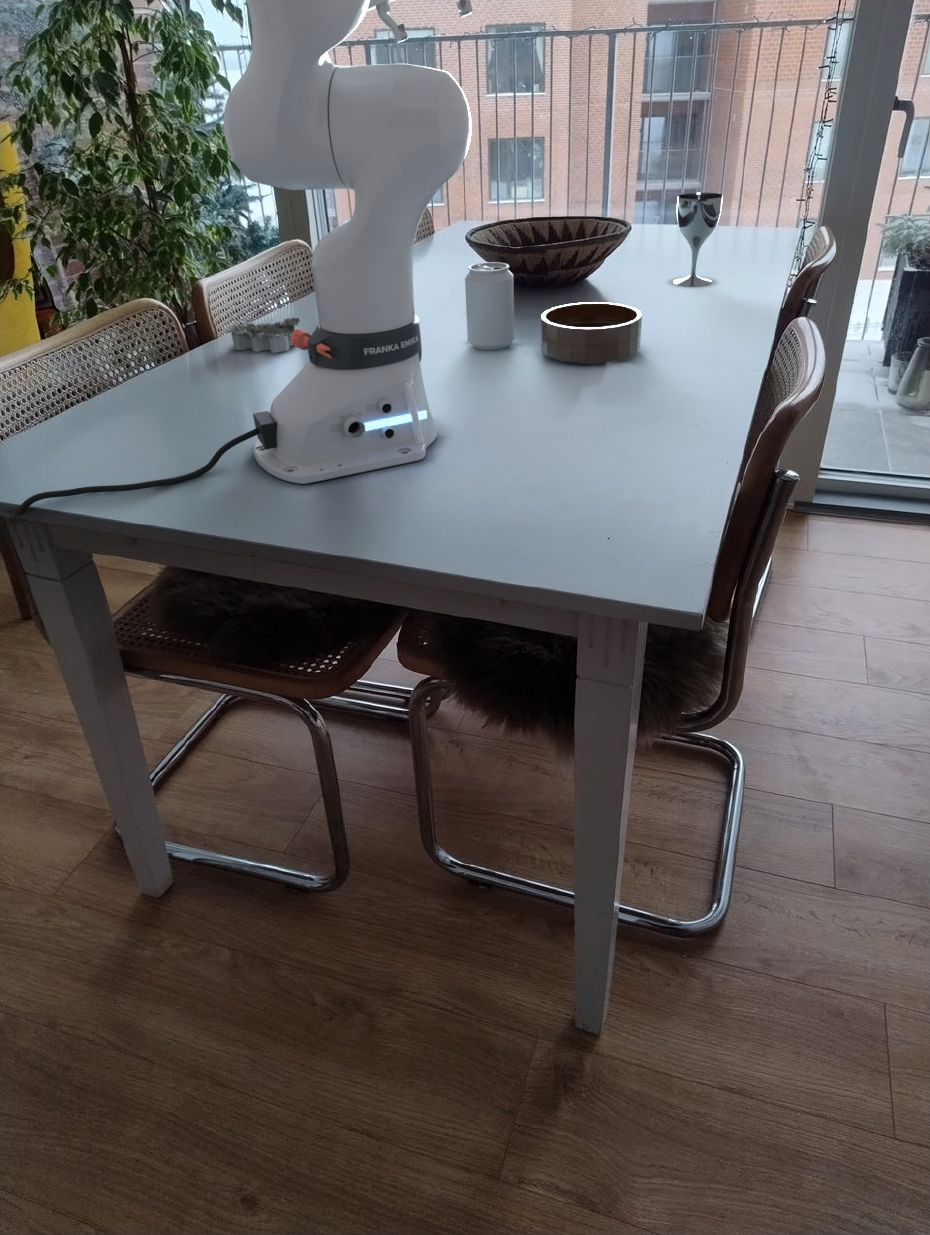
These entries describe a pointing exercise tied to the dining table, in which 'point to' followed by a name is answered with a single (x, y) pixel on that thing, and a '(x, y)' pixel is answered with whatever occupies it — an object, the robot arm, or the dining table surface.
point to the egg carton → (264, 336)
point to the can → (490, 305)
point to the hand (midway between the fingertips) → (434, 28)
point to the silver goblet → (697, 227)
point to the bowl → (591, 332)
